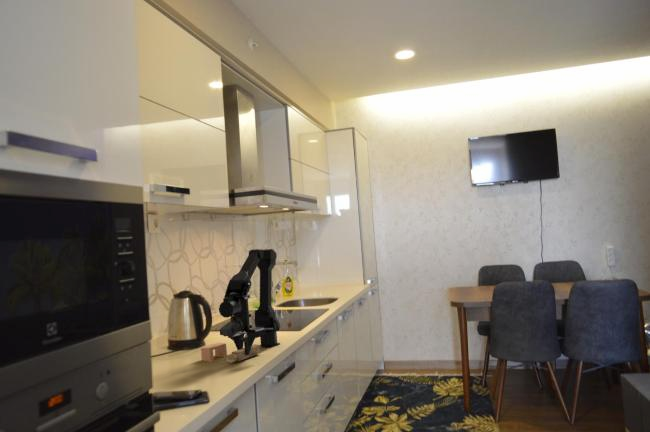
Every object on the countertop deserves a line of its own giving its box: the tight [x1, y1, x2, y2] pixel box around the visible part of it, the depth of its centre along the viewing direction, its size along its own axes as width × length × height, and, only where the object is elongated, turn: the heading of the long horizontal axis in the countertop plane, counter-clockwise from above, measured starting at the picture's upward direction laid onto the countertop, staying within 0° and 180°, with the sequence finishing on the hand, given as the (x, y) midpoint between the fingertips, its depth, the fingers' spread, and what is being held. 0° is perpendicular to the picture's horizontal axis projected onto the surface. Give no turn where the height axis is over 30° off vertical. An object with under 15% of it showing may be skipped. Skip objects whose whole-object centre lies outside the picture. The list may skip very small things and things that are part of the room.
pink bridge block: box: [200, 342, 228, 362], centre depth 179 cm, size 8×5×5 cm, turn 144°
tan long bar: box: [225, 344, 262, 363], centre depth 174 cm, size 15×3×3 cm, turn 144°
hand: (243, 354), depth 174 cm, fingers closed on tan long bar, 3 cm apart
